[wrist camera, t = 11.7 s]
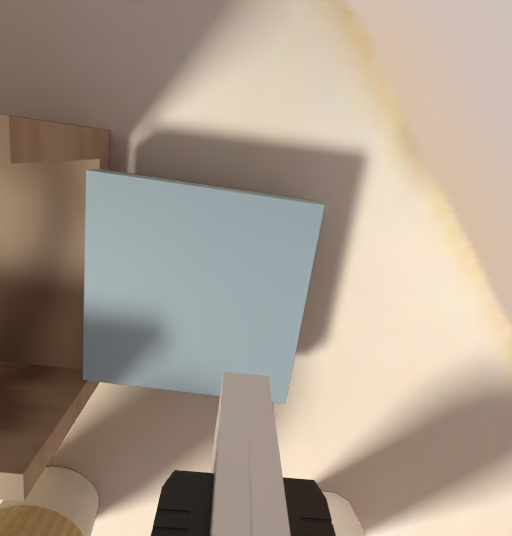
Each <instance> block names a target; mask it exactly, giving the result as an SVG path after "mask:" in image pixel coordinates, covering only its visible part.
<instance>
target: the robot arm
mask: <svg viewBox="0 0 512 536" xmlns="http://www.w3.org/2000/svg"><path fill="white" fill-rule="evenodd" d="M151 536H336V534H335V531H334V527H333V524H332V519H331V515H330V511H329V507H328V503H327V499H326V497H325V496H324V494H323V493H322V491H321V490H320V488H319V487H318V485H317V484H316V482H315V481H314V480H306V479H294V478H283V476H282V469H281V461H280V454H279V447H278V439H277V432H276V424H275V417H274V410H273V402H272V395H271V388H270V380H269V376H260V375H251V374H241V373H231V372H223V378H222V385H221V393H220V400H219V407H218V414H217V422H216V429H215V436H214V445H213V456H212V468H211V473H203V472H191V471H179V470H174V472H173V473H172V474H171V476H170V477H169V478H168V480H167V481H166V482H165V484H164V485H163V487H162V490H161V494H160V498H159V503H158V507H157V512H156V516H155V520H154V524H153V530H152V533H151Z"/></svg>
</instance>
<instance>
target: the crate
mask: <svg viewBox="0 0 512 536" xmlns="http://www.w3.org/2000/svg"><path fill="white" fill-rule="evenodd" d="M109 155H110V131H108V130H101V129H95V128H88V127H82V126H75V125H69V124H62V123H56V122H49V121H42V120H36V119H29V118H23V117H16V116H10V115H3V114H0V499H3V500H15V501H25V499H26V498H27V496H28V494H29V493H30V491H31V490H32V488H33V487H34V485H35V483H36V482H37V480H38V479H39V477H40V476H41V474H42V472H43V471H44V469H45V468H46V466H47V464H48V463H49V461H50V460H51V458H52V457H53V455H54V453H55V452H56V450H57V449H58V447H59V446H60V444H61V442H62V441H63V439H64V438H65V436H66V434H67V433H68V431H69V430H70V428H71V427H72V425H73V423H74V422H75V420H76V419H77V417H78V416H79V414H80V412H81V411H82V409H83V408H84V406H85V405H86V403H87V401H88V400H89V398H90V397H91V395H92V393H93V392H94V390H95V389H96V387H97V386H98V384H99V382H96V381H88V380H83V337H84V274H85V211H86V170H91V169H103V170H109Z"/></svg>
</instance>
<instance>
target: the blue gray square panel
mask: <svg viewBox="0 0 512 536" xmlns="http://www.w3.org/2000/svg"><path fill="white" fill-rule="evenodd" d="M324 207H325V205H324V204H322V203H321V202H320V201H313V200H306V199H299V198H292V197H286V196H279V195H272V194H265V193H259V192H252V191H245V190H238V189H232V188H225V187H218V186H211V185H204V184H198V183H191V182H184V181H177V180H171V179H164V178H157V177H150V176H144V175H137V174H130V173H123V172H116V171H110V170H103V169H91V170H86V211H85V274H84V337H83V380H88V381H96V382H105V383H113V384H121V385H130V386H138V387H146V388H154V389H163V390H171V391H179V392H187V393H196V394H204V395H212V396H220V393H221V385H222V378H223V372H231V373H241V374H251V375H260V376H269V380H270V388H271V395H272V402H273V403H278V404H286V399H287V394H288V389H289V384H290V378H291V373H292V368H293V363H294V358H295V353H296V348H297V343H298V338H299V333H300V328H301V323H302V318H303V313H304V308H305V303H306V298H307V293H308V287H309V282H310V277H311V272H312V267H313V262H314V257H315V252H316V247H317V242H318V237H319V232H320V227H321V222H322V217H323V212H324Z"/></svg>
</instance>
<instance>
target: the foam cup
mask: <svg viewBox="0 0 512 536" xmlns="http://www.w3.org/2000/svg"><path fill="white" fill-rule="evenodd" d="M322 493H323V494H324V496H325V497H326V499H327V503H328V507H329V511H330V515H331V519H332V524H333V527H334V531H335V534H336V536H366V535H365V533H364V531H363V529H362V526H361V524H360V522H359V520H358V518H357V516H356V514H355V512H354V510H353V508H352V506H351V505H350V503H349V501H347V500H346V499H344V498H342V497H341V496H339V495H338V494H336V493H332V492H325V491H322Z"/></svg>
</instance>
